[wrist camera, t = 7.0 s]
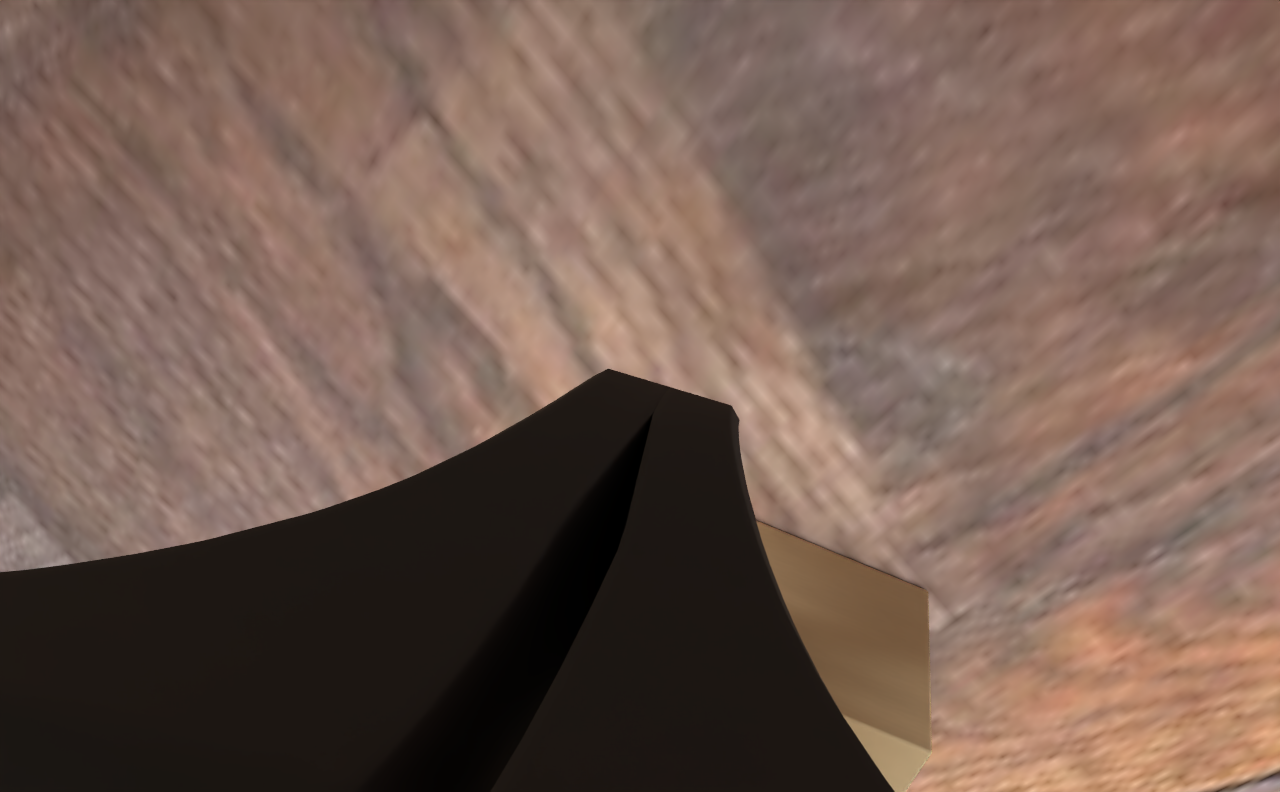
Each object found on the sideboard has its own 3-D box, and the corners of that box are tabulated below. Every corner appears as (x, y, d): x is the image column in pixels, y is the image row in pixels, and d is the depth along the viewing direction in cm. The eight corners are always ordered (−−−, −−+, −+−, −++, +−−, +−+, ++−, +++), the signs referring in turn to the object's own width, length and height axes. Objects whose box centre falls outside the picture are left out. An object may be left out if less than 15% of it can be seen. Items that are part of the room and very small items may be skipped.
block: (929, 590, 21) (933, 754, 18) (839, 737, 24) (825, 912, 20) (721, 504, 22) (679, 648, 18) (651, 659, 24) (601, 816, 20)
